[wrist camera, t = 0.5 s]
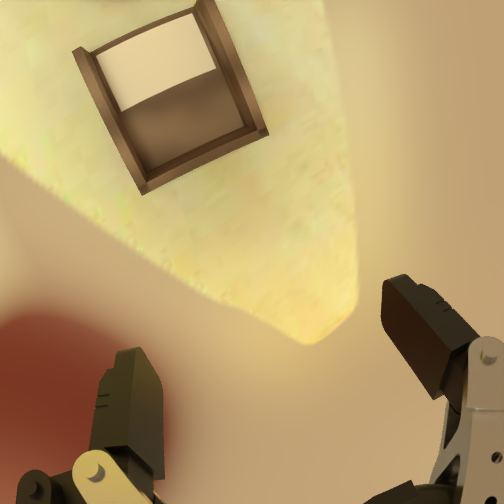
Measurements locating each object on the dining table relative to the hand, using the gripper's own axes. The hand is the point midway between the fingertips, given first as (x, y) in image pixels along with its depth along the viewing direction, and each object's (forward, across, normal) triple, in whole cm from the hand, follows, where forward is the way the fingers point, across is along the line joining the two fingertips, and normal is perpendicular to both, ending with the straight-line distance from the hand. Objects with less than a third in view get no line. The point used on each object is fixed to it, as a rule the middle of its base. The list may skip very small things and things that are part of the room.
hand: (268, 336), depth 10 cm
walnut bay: (+24, +2, -8) cm, 25 cm away
